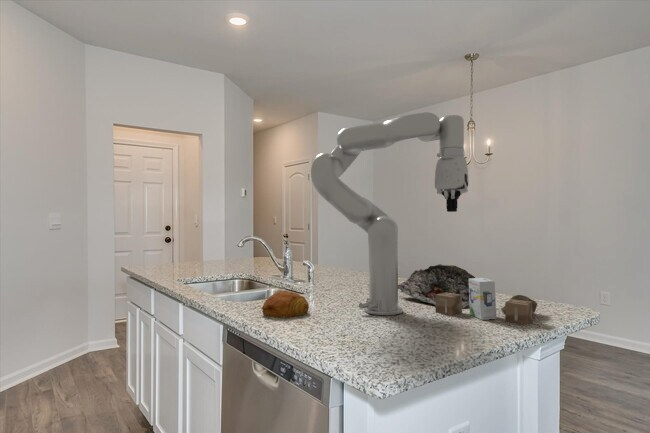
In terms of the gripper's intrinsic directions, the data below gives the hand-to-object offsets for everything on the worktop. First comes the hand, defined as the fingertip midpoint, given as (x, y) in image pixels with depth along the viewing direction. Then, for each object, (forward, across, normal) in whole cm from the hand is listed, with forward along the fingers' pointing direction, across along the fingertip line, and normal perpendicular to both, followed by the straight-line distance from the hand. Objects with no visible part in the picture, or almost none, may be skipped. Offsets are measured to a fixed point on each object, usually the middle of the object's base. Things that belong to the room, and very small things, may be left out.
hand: (451, 211), depth 134 cm
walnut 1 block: (+33, +18, +7) cm, 38 cm away
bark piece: (+33, -17, +12) cm, 39 cm away
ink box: (+33, +8, +4) cm, 34 cm away
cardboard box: (+33, -2, +1) cm, 33 cm away
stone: (+33, +14, +15) cm, 39 cm away
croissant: (+34, -37, -41) cm, 64 cm away
